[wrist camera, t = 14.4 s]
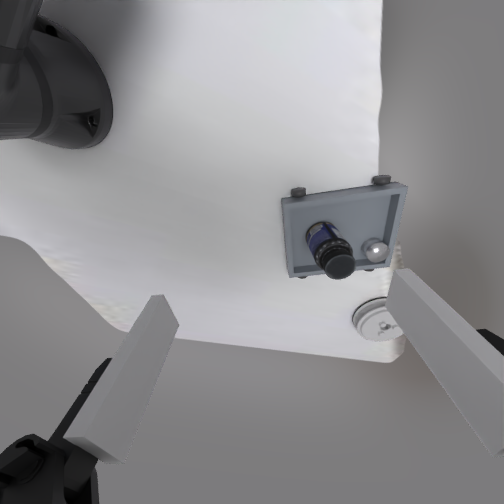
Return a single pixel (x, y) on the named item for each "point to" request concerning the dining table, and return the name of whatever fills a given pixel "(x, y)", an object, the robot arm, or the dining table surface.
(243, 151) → the dining table surface
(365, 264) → the cart
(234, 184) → the dining table surface
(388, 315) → the lid
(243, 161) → the dining table surface
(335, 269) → the pill bottle
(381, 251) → the metal part
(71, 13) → the dining table surface
